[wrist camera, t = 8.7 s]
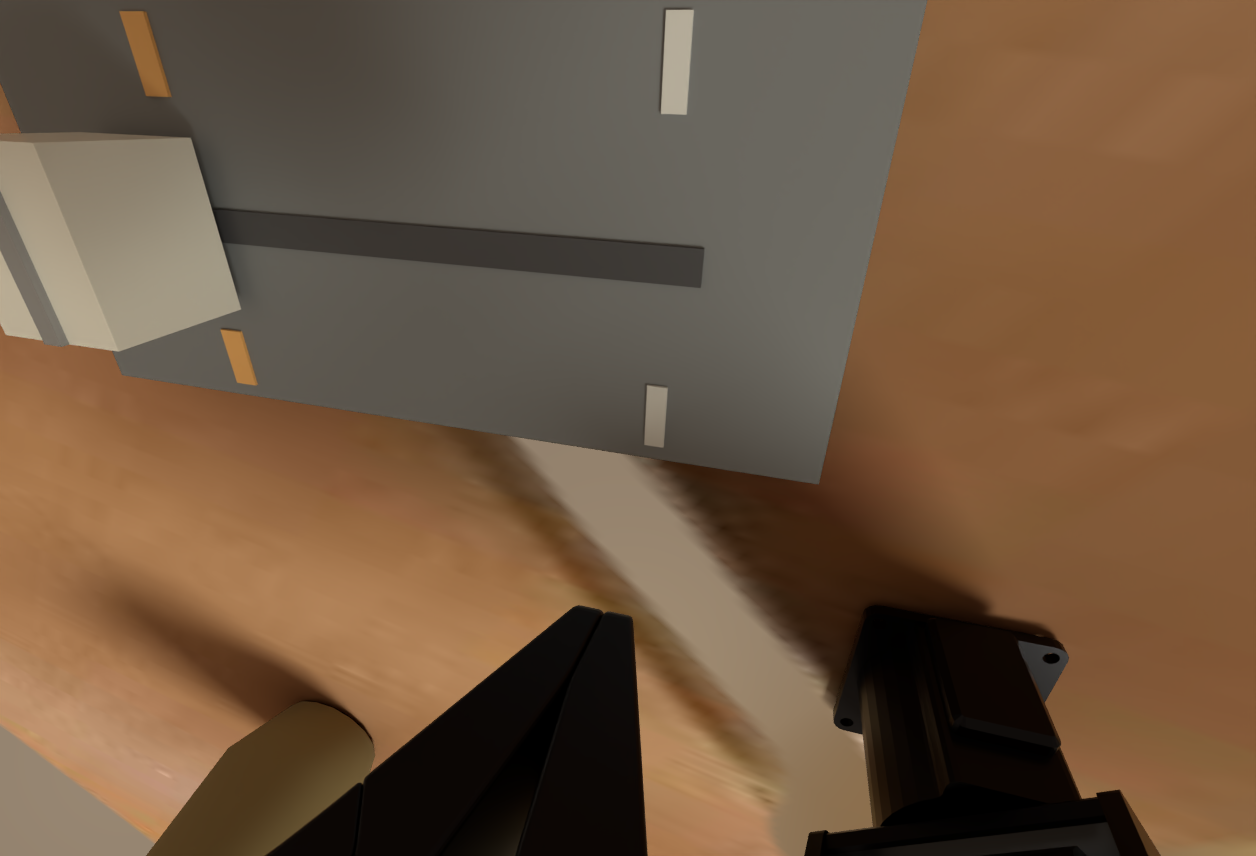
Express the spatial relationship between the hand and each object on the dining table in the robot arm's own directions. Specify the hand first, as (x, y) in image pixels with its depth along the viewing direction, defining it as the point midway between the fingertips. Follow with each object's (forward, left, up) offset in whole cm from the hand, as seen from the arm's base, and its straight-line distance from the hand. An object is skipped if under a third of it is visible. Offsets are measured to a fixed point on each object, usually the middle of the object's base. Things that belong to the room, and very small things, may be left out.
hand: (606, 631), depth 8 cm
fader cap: (+3, +17, -9) cm, 20 cm away
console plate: (+3, +9, -12) cm, 15 cm away
